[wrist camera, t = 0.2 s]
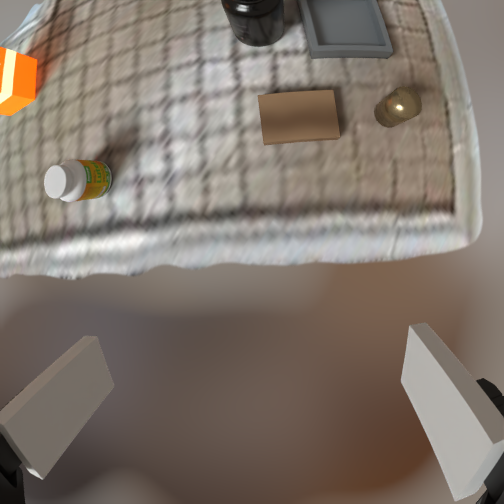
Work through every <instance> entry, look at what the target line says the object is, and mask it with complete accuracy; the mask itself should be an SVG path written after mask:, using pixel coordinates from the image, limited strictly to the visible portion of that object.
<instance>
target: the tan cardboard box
mask: <svg viewBox="0 0 504 504" xmlns="http://www.w3.org/2000/svg"><path fill="white" fill-rule="evenodd" d="M258 102H259V110H260V118H261V126H262V135H263V143H264V145H272V144H283V143H294V142H307V141H323V140H337V139H339V138H340V132H339V124H338V117H337V111H336V104H335V98H334V92H333V90H316V91H298V92H285V93H274V94H265V95H258Z"/></svg>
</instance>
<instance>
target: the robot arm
mask: <svg viewBox="0 0 504 504" xmlns="http://www.w3.org/2000/svg"><path fill="white" fill-rule="evenodd" d="M401 383H402V384H403V387H404V388H405V390H406V392H407V394H408V396H409V398H410V400H411V402H412V404H413V406H414V409H415V411H416V413H417V415H418V417H419V419H420V421H421V423H422V425H423V427H424V430H425V432H426V434H427V436H428V439H429V440H430V443H431V445H432V447H433V450H434V452H435V454H436V457H437V459H438V461H439V463H440V466H441V468H442V471H443V473H444V475H445V478H446V480H447V482H448V485H449V488H450V490H451V493H452V495H453V498H454V500H455V501H458V500H460V499H462V498H465V497H467V496H470V495H472V494H474V493H476V492H477V491H478V489H479V488H480V487H481V485H482V484H483V483H484V484H485V486H486V488H487V490H486V491H485V493H484V494H483V495H482V496H481V497H480V499H479V500H478V501H477V502H476V504H504V396H502V393H501V392H500V391H499V390H498V388H497V387H496V386H495V385H494V384H492V383H491V382H489V381H487V380H486V379H484V378H482V379H479V380H477V381H475V379H474V378H473V377H472V376H471V375H470V373H469V372H468V371H467V370H466V369H465V367H464V366H463V365H462V364H461V362H460V361H459V360H458V359H457V358H456V356H455V355H454V354H453V353H452V352H451V351H450V349H449V348H448V347H447V346H446V345H445V344H444V342H443V341H442V340H441V339H440V338H439V337H438V336H437V334H436V333H435V332H434V331H433V330H432V329H431V328H430V327H429V325H427V323H421V324H415V325H409V333H408V340H407V347H406V354H405V360H404V366H403V372H402V377H401ZM113 387H114V383H113V381H112V378H111V375H110V373H109V370H108V367H107V364H106V361H105V359H104V356H103V353H102V350H101V347H100V343H99V341H98V337H93V336H84V337H83V338H82V339H81V340H79V341H78V342H77V343H76V344H75V345H73V346H72V347H71V348H70V349H69V350H68V351H67V352H65V353H64V354H63V355H62V356H61V357H60V358H58V359H57V360H56V361H55V362H54V363H53V364H51V365H50V366H49V367H48V368H47V369H46V370H45V371H44V372H42V373H41V374H40V375H39V376H38V377H37V378H36V379H35V380H33V381H32V382H31V383H30V384H29V385H28V386H27V387H26V388H24V389H23V390H22V391H20V393H18V394H17V395H16V397H14V398H13V399H12V400H11V401H10V402H8V403H7V404H6V405H5V406H4V407H3V408H2V409H1V410H0V504H25V497H24V485H23V473H22V470H21V468H20V467H19V465H20V464H21V463H23V464H24V466H25V467H26V468H27V470H28V471H29V472H30V473H31V474H33V475H35V476H37V477H39V478H41V479H44V478H45V477H46V475H47V474H48V472H49V471H50V470H51V468H52V467H53V466H54V464H55V463H56V462H57V460H58V459H59V458H60V456H61V455H62V454H63V452H64V451H65V450H66V448H67V447H68V446H69V444H70V443H71V442H72V440H73V439H74V438H75V436H76V435H77V434H78V432H79V431H80V430H81V428H82V427H83V426H84V424H85V423H86V422H87V421H88V419H89V418H90V417H91V415H92V414H93V413H94V412H95V410H96V409H97V408H98V406H99V405H100V404H101V403H102V401H103V400H104V399H105V397H106V396H107V395H108V393H109V392H110V391H111V390H112V388H113Z"/></svg>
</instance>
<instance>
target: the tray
mask: <svg viewBox="0 0 504 504" xmlns="http://www.w3.org/2000/svg"><path fill="white" fill-rule="evenodd" d="M297 2H298V5H299V9H300V13H301V17H302V21H303V25H304V29H305V33H306V37H307V42H308V46H309V51H310V55H311V59H318V58H386V59H388V58H389V56H390V55H391V54H392V53H393V49H392V45H391V42H390V39H389V35H388V32H387V29H386V26H385V23H384V20H383V17H382V14H381V12H380V9H379V6H378V3H377V1H376V0H297Z"/></svg>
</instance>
